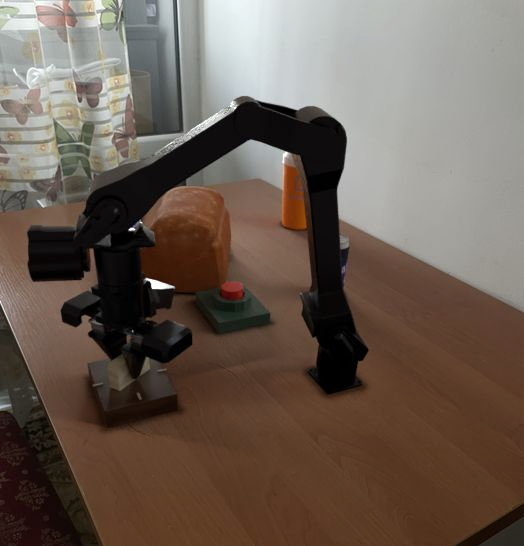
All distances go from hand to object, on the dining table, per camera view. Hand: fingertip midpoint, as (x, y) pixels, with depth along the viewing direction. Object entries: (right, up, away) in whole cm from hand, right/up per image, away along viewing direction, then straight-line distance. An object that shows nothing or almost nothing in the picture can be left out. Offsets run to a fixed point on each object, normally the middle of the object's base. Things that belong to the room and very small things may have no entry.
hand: (130, 374), depth 79 cm
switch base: (0, -3, +2) cm, 4 cm away
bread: (+3, +21, +38) cm, 44 cm away
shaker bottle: (+27, +36, +63) cm, 77 cm away
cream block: (0, 0, 0) cm, 0 cm away
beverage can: (+32, +15, +31) cm, 47 cm away
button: (+13, +14, +21) cm, 29 cm away
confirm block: (+13, +11, +23) cm, 29 cm away
